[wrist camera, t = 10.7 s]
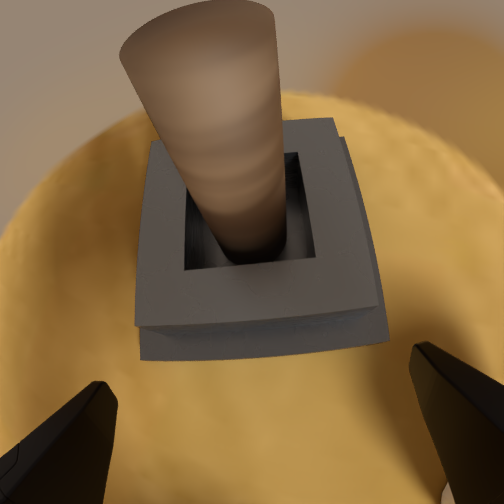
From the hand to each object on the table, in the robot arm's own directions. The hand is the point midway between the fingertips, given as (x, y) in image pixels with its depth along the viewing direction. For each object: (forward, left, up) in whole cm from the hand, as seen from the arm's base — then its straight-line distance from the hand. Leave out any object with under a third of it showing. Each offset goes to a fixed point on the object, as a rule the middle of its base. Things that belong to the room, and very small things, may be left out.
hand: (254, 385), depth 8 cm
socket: (+8, 0, -9) cm, 12 cm away
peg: (+8, 0, -8) cm, 11 cm away
